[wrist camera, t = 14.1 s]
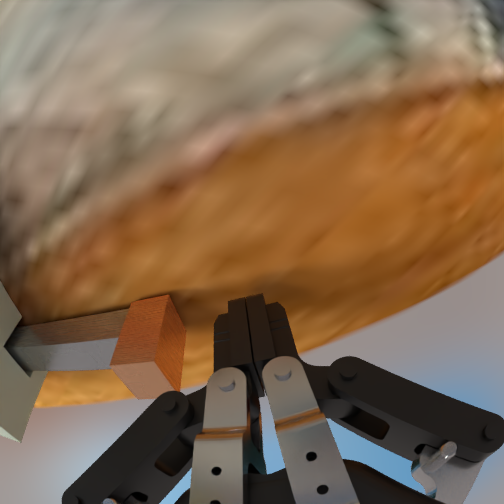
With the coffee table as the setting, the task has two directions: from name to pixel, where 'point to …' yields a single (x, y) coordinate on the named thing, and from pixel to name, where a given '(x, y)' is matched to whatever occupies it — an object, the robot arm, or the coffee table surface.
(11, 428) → the dock
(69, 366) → the pin
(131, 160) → the coffee table surface
